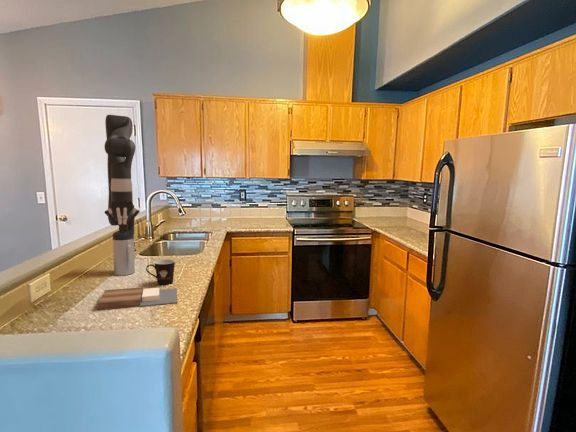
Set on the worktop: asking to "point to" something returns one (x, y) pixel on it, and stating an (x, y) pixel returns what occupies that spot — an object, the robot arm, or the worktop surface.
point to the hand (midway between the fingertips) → (123, 233)
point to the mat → (163, 298)
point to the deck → (120, 298)
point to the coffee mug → (163, 271)
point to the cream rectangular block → (150, 294)
